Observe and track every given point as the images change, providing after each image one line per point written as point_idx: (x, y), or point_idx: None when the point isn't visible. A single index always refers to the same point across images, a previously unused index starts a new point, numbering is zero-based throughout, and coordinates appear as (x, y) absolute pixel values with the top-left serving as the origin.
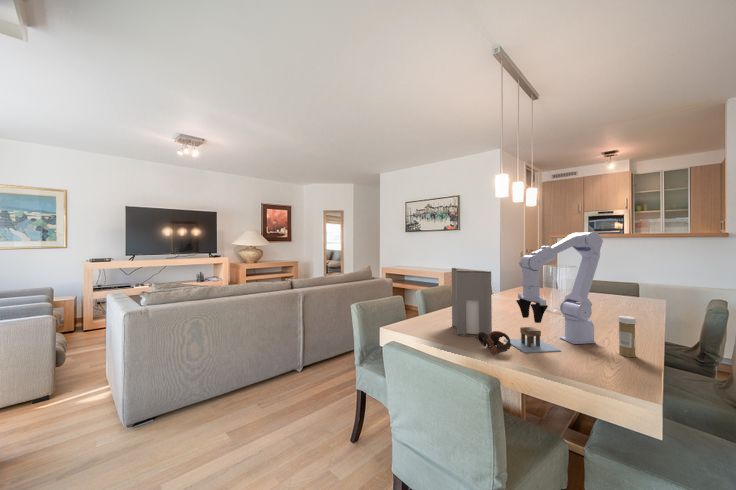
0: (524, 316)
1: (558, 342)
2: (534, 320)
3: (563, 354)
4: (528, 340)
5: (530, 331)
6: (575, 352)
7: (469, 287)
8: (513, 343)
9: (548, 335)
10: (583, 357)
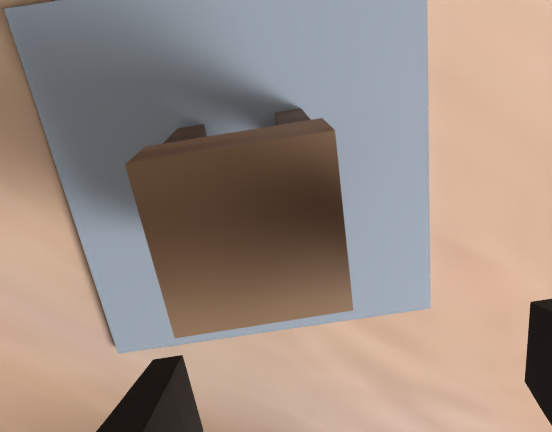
0: (544, 333)
1: (331, 418)
2: (167, 373)
3: (52, 333)
4: (167, 140)
5: (137, 196)
6: None
7: None
8: (276, 5)
9: (500, 425)
10: (16, 424)
